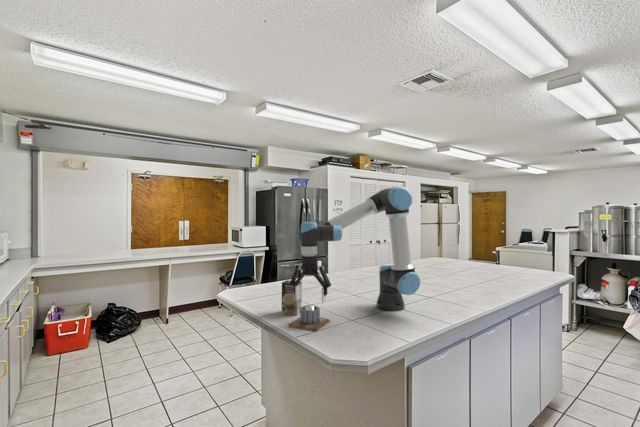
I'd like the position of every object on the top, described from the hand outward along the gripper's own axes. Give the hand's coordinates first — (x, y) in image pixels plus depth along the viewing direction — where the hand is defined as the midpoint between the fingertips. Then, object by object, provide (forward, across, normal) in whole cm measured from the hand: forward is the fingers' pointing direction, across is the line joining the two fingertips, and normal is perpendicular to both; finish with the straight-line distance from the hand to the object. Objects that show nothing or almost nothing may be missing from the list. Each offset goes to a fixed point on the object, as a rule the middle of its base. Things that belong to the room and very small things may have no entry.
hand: (310, 300), depth 145 cm
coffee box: (+11, +16, -11) cm, 22 cm away
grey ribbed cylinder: (+9, 0, 0) cm, 9 cm away
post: (+9, 0, 0) cm, 9 cm away
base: (+11, 0, 0) cm, 11 cm away
